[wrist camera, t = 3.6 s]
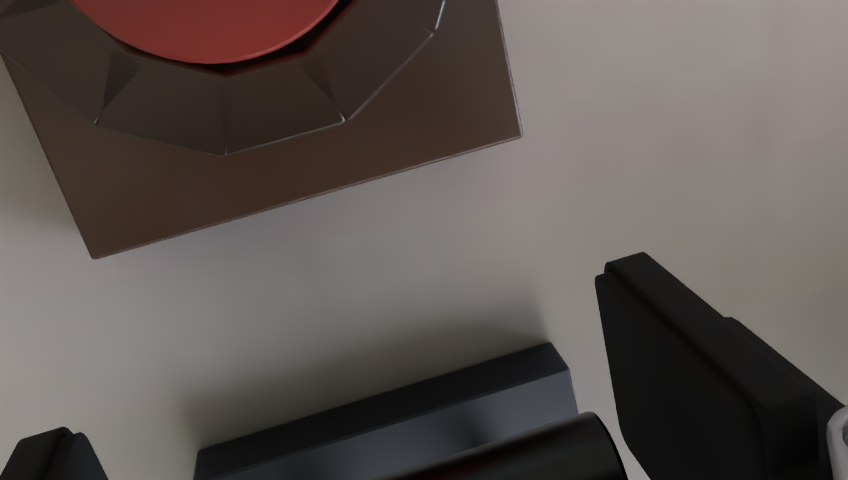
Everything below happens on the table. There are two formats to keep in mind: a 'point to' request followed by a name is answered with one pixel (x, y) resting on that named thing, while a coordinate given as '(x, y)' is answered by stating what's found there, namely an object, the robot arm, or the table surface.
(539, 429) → the lever
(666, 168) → the table surface
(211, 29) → the button
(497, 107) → the button block
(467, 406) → the bracket
